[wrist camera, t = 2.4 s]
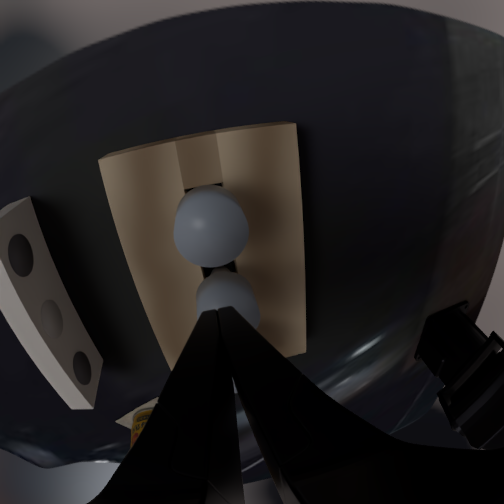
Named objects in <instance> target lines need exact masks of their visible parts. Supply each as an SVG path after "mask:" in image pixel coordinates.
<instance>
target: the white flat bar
mask: <svg viewBox="0 0 504 504" xmlns="http://www.w3.org/2000/svg"><path fill="white" fill-rule="evenodd" d="M0 309H1V311H2V313H3V315H4V316H5V318H6V320H7V321H8V323H9V325H10V326H11V328H12V330H13V331H14V333H15V334H16V336H17V338H18V339H19V341H20V342H21V344H22V345H23V347H24V348H25V350H26V351H27V353H28V354H29V356H30V357H31V358H32V360H33V361H34V363H35V364H36V365H37V367H38V368H39V370H40V371H41V372H42V374H43V375H44V376H45V378H46V379H47V380H48V381H49V383H50V384H51V385H52V386H53V388H54V389H55V390H56V391H57V393H58V394H59V395H60V396H61V397H62V399H63V400H64V401H65V402H66V403H67V404H68V406H69V407H70V408H71V409H94V403H95V398H96V392H97V387H98V382H99V378H100V373H101V368H102V364H103V359H102V357H101V355H100V354H99V352H98V350H97V348H96V347H95V345H94V343H93V341H92V340H91V338H90V336H89V334H88V333H87V331H86V329H85V327H84V325H83V323H82V321H81V320H80V318H79V316H78V314H77V312H76V310H75V308H74V306H73V304H72V302H71V300H70V298H69V296H68V294H67V291H66V289H65V287H64V285H63V283H62V281H61V278H60V276H59V274H58V271H57V269H56V267H55V264H54V262H53V260H52V257H51V255H50V252H49V250H48V247H47V245H46V242H45V239H44V237H43V234H42V231H41V228H40V226H39V223H38V220H37V217H36V214H35V211H34V208H33V205H32V201H31V198H30V196H29V197H26V198H24V199H21V200H18V201H16V202H13V203H11V204H8V205H7V206H5V207H4V208H3V209H1V210H0Z"/></svg>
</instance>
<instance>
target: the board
mask: <svg viewBox="0 0 504 504" xmlns="http://www.w3.org/2000/svg"><path fill="white" fill-rule="evenodd" d="M98 162H99V166H100V170H101V174H102V178H103V182H104V186H105V190H106V194H107V197H108V201H109V205H110V208H111V212H112V215H113V219H114V222H115V225H116V229H117V232H118V235H119V238H120V241H121V245H122V248H123V251H124V254H125V257H126V260H127V263H128V265H129V268H130V271H131V274H132V277H133V280H134V282H135V285H136V288H137V290H138V293H139V296H140V298H141V301H142V303H143V306H144V309H145V311H146V314H147V316H148V319H149V321H150V323H151V326H152V328H153V331H154V333H155V335H156V338H157V340H158V342H159V345H160V347H161V349H162V351H163V354H164V356H165V358H166V360H167V362H168V364H169V367H170V369H171V371H172V370H173V368H174V366H175V364H176V362H177V360H178V358H179V356H180V354H181V352H182V350H183V348H184V346H185V344H186V342H187V340H188V338H189V336H190V334H191V332H192V330H193V328H194V326H195V324H196V322H197V306H196V292H197V289H198V287H199V285H200V284H201V282H202V281H203V280H204V279H206V278H207V277H206V276H205V272H204V268H203V267H202V266H198V265H195V264H193V263H191V262H189V261H188V260H186V259H185V258H184V257H183V256H182V255H181V254H180V252H179V251H178V249H177V247H176V245H175V242H174V225H175V217H176V210H177V207H178V204H179V202H180V201H181V199H182V198H183V196H184V195H185V194H186V193H187V189H189V188H194V187H198V186H202V185H210V184H215V183H222V187H223V188H225V189H227V190H229V191H230V192H231V193H232V194H233V195H234V196H235V197H236V199H237V200H238V202H239V204H240V206H241V208H242V211H243V213H244V215H245V217H246V219H247V222H248V227H249V237H248V241H247V244H246V246H245V248H244V250H243V251H242V252H241V254H240V255H239V256H238V257H237V258H235V259H234V263H235V268H236V272H234V273H237V274H240V275H242V276H243V277H245V278H246V279H247V280H248V281H249V283H250V284H251V287H252V290H253V293H254V296H255V299H256V302H257V305H258V308H259V311H260V322H259V325H258V327H257V329H256V330H257V331H258V332H259V333H260V334H261V335H262V336H263V337H264V338H265V339H266V340H267V341H268V342H270V343H271V344H272V345H273V346H274V347H275V348H276V349H277V350H278V351H279V352H280V353H281V354H282V355H283V356H284V357H289V356H293V355H297V354H301V353H305V352H306V291H305V257H304V233H303V213H302V196H301V180H300V166H299V153H298V141H297V130H296V123H291V122H286V121H281V122H271V123H262V124H254V125H246V126H239V127H232V128H225V129H219V130H213V131H207V132H201V133H196V134H190V135H185V136H180V137H175V138H170V139H166V140H161V141H157V142H152V143H148V144H144V145H140V146H136V147H132V148H128V149H124V150H120V151H116V152H113V153H109V154H107V155H105V156H104V157H102V158H101V159H99V160H98Z"/></svg>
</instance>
